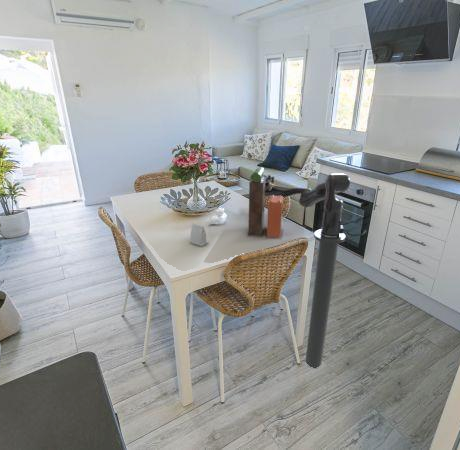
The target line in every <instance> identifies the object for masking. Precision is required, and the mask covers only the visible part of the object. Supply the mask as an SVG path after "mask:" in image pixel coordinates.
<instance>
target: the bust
mask: <svg viewBox="0 0 460 450" xmlns="http://www.w3.org/2000/svg"><path fill="white" fill-rule="evenodd" d="M215 213H216V214H215V215H213V216H211V218H210V219H209V224H210V225H215V226H221V225H223V224H225V222H226V219H227V217H228V216H227V213H225V208H224V207H219V208H218V209H215Z"/></svg>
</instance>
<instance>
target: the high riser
mask: <svg viewBox="0 0 460 450" xmlns="http://www.w3.org/2000/svg"><path fill="white" fill-rule="evenodd" d="M265 179H266V177H263V176H262V178H261V179H260V181H258V182H254V181H252V179H251V180H250V179H249V183H248V184H249V186H248V188H249V189H248V190H249V191H248V231H247V232H248V233H247V235H248V236H253V237H262V234H263V231H264V226H265V225H264V223H265V201H266V199H265V198H266V196H265Z"/></svg>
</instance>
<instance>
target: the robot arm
mask: <svg viewBox="0 0 460 450" xmlns="http://www.w3.org/2000/svg"><path fill="white" fill-rule="evenodd" d="M251 176H252V174H251V175H250V179H249V181H250V180H251ZM263 177H266V179H265V197H270V196H272V195H274V196H280V195H281V196H283V198H287V197H288V198H289V197H290V196H294V195H300V196H299V199H298V203H299V205H300V206H301V207H303V208H311V207H313V206H314V205H317V204H318V203H319V202H321V201H324V203H323V204H324V206H323V212H322V213H323V214H322V221H321V226H320V229H321V235H322V236H324V237H327V238H339V235H340V233H341V234H344V232H346V234H347V235H349V236H354V237H359V236H364V235H365V234H366V233H367V229H365V230H364V231H363V233H359V234H357V233H356V234H353V233H350V232H349V230H348V229H346V228H345V227H344V225H343V224H342V216H343V215H342V214H343V208H344V207H343V206H344V199H342V198H340V197H338V196H336V195H337V194H339V193H344V192H346V191H348V189H349V188H350V185H351V179H350V177H349V176H348V175H347V174H346V173H345V174H344V173H330V174H328V175H327V176H326V178H325V181H324V182H320V183H318V184H316V185H315V186H313V187H312V189H311V188H305V187H287V186H281V185H273V186H272V184H274V183H275V176H272V175H270V174H268V175H265V174H263Z"/></svg>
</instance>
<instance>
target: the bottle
mask: <svg viewBox="0 0 460 450" xmlns="http://www.w3.org/2000/svg"><path fill="white" fill-rule="evenodd" d="M264 170H265V169H264V167H263V166H260V167H258V168H256V169H255V170H254V171H253V173H251V175H252V176H251V175H250V178H251V179H252V181H254V182H258V181H260V179H261V178H262V176H263V175H265V174H264Z"/></svg>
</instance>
